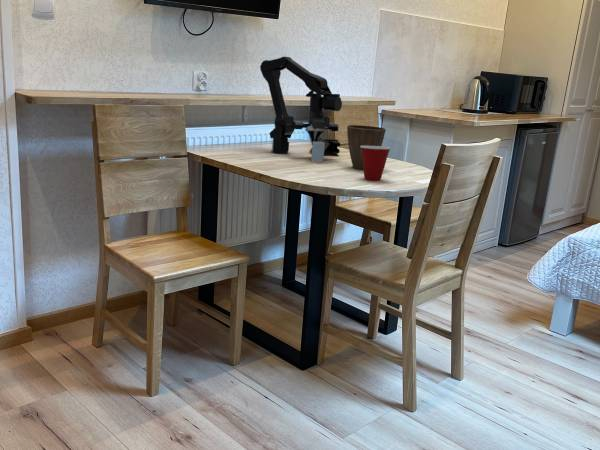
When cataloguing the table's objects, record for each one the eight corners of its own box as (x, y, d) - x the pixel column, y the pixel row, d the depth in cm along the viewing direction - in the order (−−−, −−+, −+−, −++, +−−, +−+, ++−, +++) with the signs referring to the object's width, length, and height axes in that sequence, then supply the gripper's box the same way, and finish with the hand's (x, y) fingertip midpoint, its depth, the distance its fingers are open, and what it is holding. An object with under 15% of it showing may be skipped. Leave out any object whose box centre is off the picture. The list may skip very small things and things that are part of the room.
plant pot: (337, 164, 236) (341, 124, 232) (370, 164, 241) (374, 125, 237) (353, 171, 223) (357, 129, 219) (388, 172, 228) (393, 130, 224)
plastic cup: (378, 176, 218) (382, 143, 214) (392, 182, 208) (396, 148, 205) (352, 176, 214) (355, 142, 211) (365, 182, 204) (368, 147, 201)
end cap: (334, 153, 265) (335, 138, 263) (340, 156, 258) (341, 141, 256) (313, 153, 262) (314, 137, 260) (318, 156, 255) (319, 140, 253)
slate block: (313, 162, 236) (314, 142, 234) (311, 161, 240) (312, 141, 238) (323, 163, 237) (324, 143, 235) (320, 161, 241) (322, 141, 238)
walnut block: (310, 153, 244) (322, 138, 243) (308, 152, 248) (319, 136, 247) (318, 159, 245) (329, 143, 244) (315, 157, 249) (327, 142, 248)
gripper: (297, 109, 232) (294, 149, 236) (343, 112, 236) (339, 151, 240) (292, 107, 242) (290, 145, 246) (336, 109, 246) (333, 147, 250)
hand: (313, 147), depth 245 cm, fingers closed
